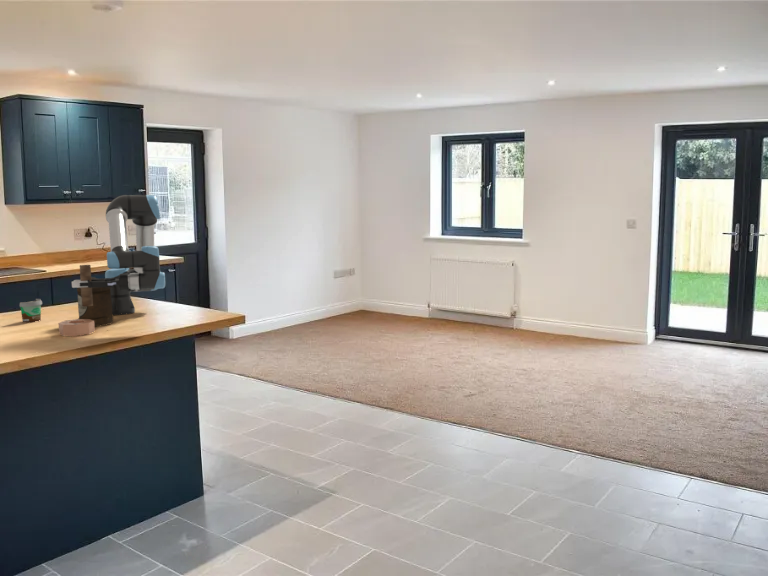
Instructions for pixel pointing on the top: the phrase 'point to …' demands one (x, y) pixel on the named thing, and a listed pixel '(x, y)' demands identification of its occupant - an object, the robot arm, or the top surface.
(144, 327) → the top surface
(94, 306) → the wooden container
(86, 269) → the walnut dowel
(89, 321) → the terracotta bead
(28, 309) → the food container
